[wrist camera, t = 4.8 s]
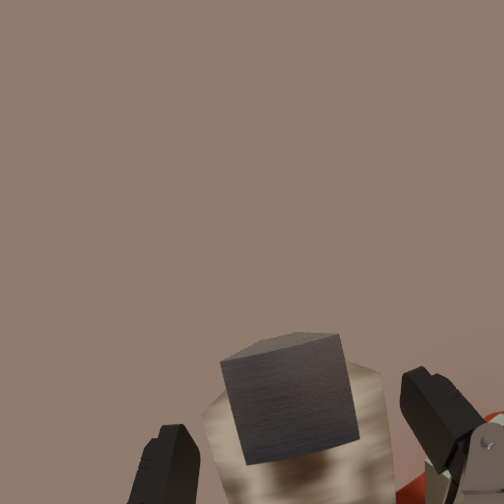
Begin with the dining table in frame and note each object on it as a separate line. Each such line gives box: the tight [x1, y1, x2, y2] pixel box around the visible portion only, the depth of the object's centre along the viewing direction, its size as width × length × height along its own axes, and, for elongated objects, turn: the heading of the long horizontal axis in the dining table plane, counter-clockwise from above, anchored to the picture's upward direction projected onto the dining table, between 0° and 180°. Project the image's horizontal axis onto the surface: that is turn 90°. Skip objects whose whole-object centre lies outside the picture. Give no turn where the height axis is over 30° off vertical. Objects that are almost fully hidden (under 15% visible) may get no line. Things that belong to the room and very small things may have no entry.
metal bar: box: [220, 332, 360, 466], centre depth 19 cm, size 4×22×4 cm, turn 175°
